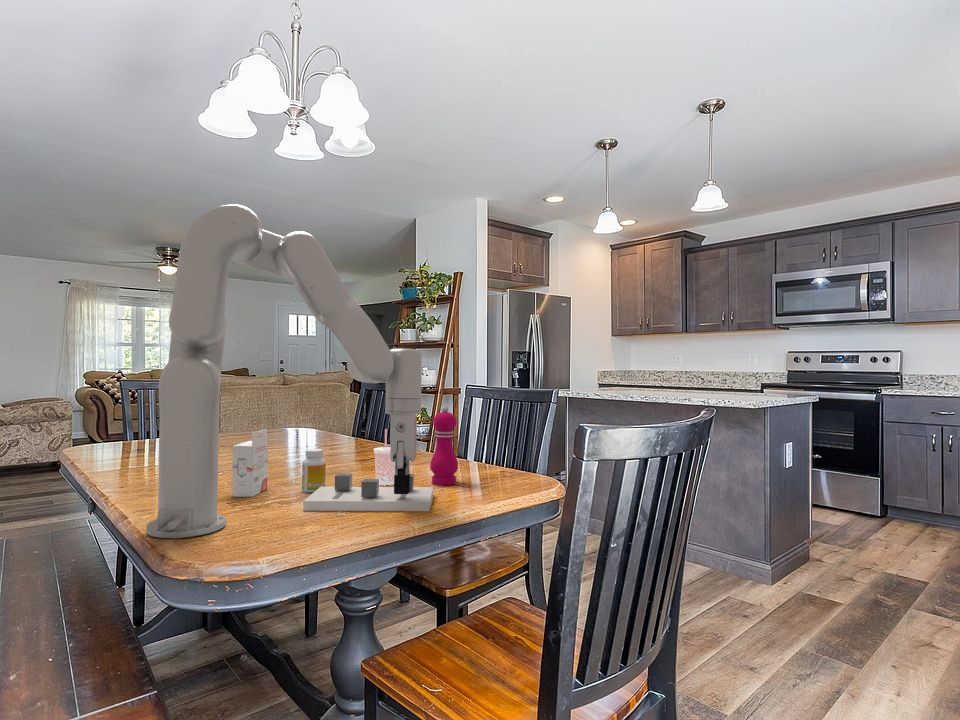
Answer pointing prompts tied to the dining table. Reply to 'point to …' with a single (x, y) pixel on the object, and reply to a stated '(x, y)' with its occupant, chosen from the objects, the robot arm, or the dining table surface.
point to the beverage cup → (384, 464)
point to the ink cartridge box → (250, 466)
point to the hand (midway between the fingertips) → (401, 493)
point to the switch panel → (368, 500)
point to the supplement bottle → (313, 470)
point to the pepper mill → (444, 449)
